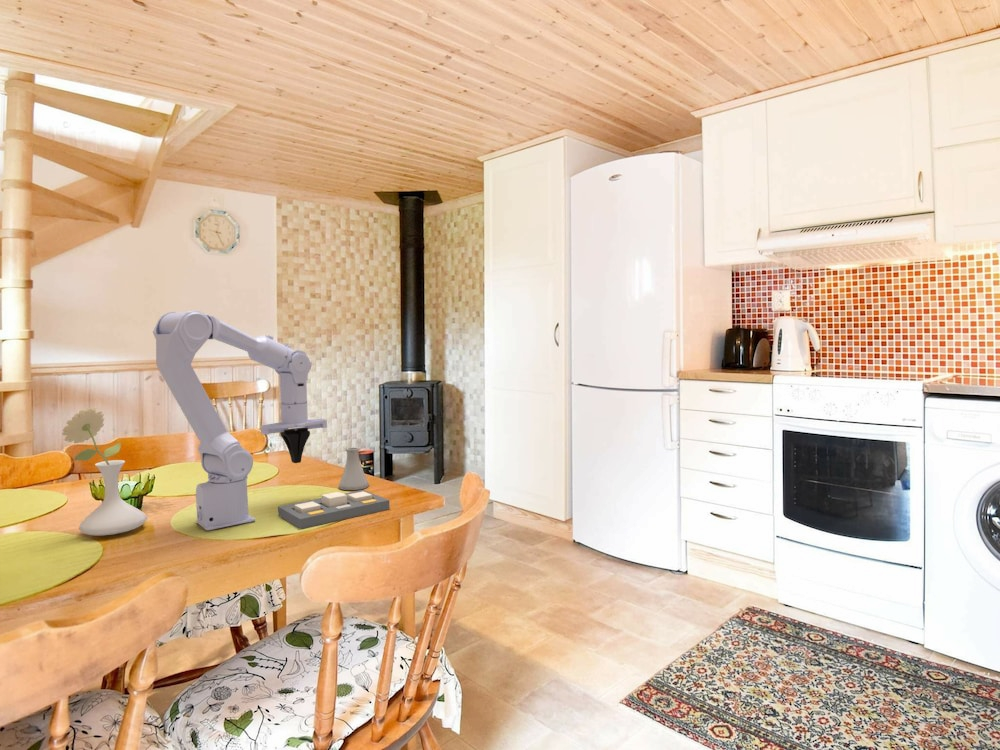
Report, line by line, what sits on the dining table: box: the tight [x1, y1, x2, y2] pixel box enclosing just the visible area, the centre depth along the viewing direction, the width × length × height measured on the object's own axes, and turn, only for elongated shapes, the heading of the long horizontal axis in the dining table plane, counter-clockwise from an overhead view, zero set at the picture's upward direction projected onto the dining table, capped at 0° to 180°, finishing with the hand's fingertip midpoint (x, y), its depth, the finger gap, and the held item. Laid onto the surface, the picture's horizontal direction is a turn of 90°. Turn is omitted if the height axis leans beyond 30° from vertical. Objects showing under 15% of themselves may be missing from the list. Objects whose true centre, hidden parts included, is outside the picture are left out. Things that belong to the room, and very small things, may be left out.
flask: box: [338, 446, 370, 491], centre depth 152 cm, size 7×7×10 cm
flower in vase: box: [62, 407, 148, 537], centre depth 119 cm, size 13×11×25 cm
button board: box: [277, 489, 391, 530], centre depth 131 cm, size 20×12×2 cm, turn 130°
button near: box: [294, 501, 321, 514], centre depth 127 cm, size 4×4×2 cm
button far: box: [347, 491, 372, 502], centre depth 135 cm, size 4×4×2 cm
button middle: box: [321, 491, 347, 508], centre depth 131 cm, size 4×4×2 cm
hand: (296, 462), depth 138 cm, fingers closed
